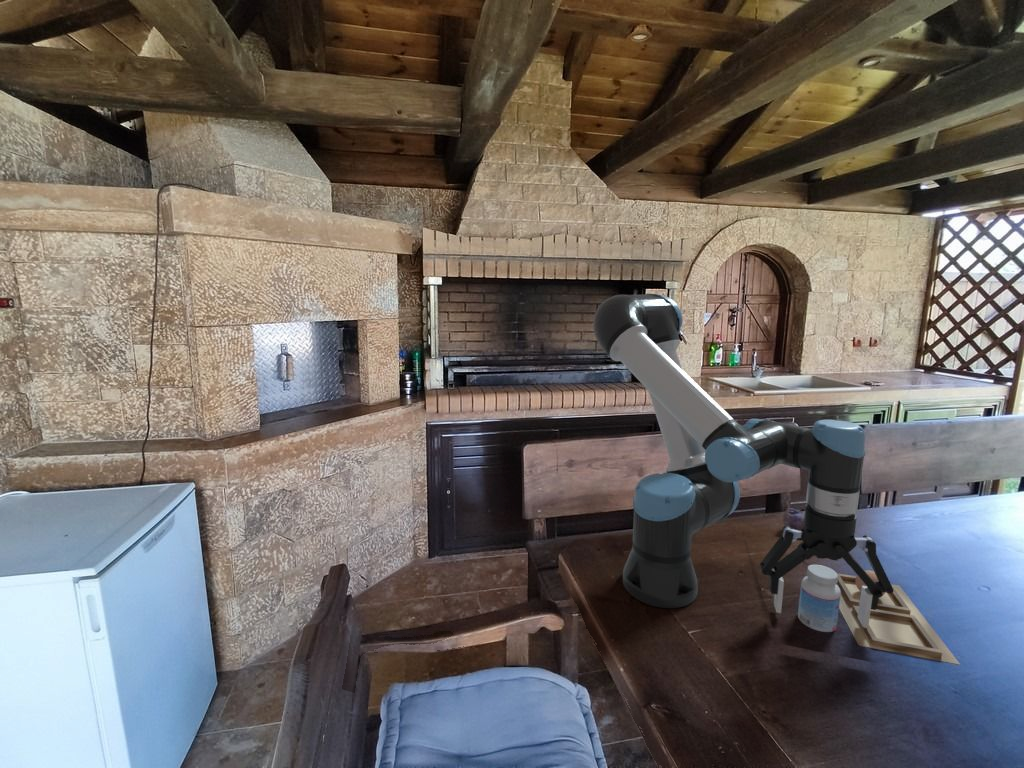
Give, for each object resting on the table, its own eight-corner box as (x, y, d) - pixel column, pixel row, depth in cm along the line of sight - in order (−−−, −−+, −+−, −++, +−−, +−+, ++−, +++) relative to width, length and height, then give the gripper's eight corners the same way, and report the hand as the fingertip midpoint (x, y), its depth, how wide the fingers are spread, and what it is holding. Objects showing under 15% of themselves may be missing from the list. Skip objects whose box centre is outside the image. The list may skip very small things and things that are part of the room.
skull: (840, 544, 115) (843, 521, 114) (823, 552, 111) (826, 529, 110) (791, 523, 125) (794, 502, 124) (774, 531, 122) (776, 509, 120)
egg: (859, 600, 92) (862, 577, 91) (850, 585, 97) (853, 563, 96) (889, 605, 90) (893, 582, 89) (879, 590, 95) (882, 567, 94)
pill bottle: (842, 639, 83) (850, 583, 81) (804, 635, 84) (811, 579, 82) (826, 617, 89) (833, 563, 87) (791, 613, 90) (797, 560, 88)
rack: (857, 651, 81) (859, 640, 80) (820, 578, 101) (821, 569, 101) (959, 671, 76) (961, 659, 76) (898, 590, 97) (900, 581, 96)
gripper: (755, 508, 83) (747, 615, 87) (928, 527, 75) (911, 644, 79) (749, 491, 90) (741, 591, 94) (906, 507, 82) (891, 615, 86)
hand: (819, 615), depth 86 cm, fingers open, 13 cm apart
